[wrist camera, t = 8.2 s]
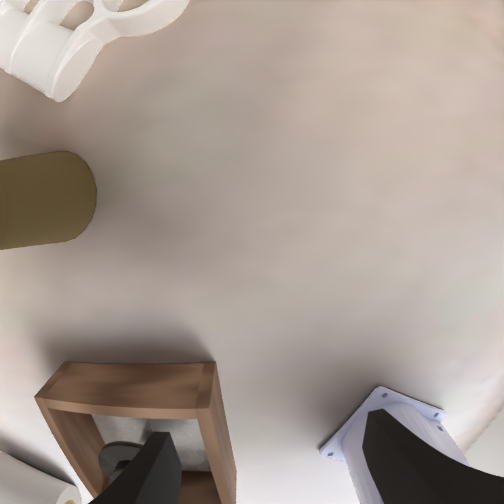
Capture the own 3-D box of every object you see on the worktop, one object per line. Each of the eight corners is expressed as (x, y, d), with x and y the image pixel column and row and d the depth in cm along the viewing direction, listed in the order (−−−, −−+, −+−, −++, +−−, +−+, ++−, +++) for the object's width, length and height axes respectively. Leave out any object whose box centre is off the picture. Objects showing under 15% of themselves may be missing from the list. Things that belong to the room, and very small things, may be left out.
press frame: (215, 361, 21) (209, 408, 16) (236, 470, 23) (235, 514, 18) (64, 361, 21) (34, 396, 16) (111, 464, 23) (96, 501, 18)
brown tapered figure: (45, 255, 19) (-70, 311, 8) (16, 178, 18) (-105, 189, 7) (110, 218, 19) (-9, 260, 8) (78, 133, 17) (-48, 108, 7)
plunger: (196, 383, 21) (182, 450, 14) (216, 464, 23) (211, 524, 16) (84, 381, 21) (47, 434, 14) (118, 459, 23) (98, 511, 16)
